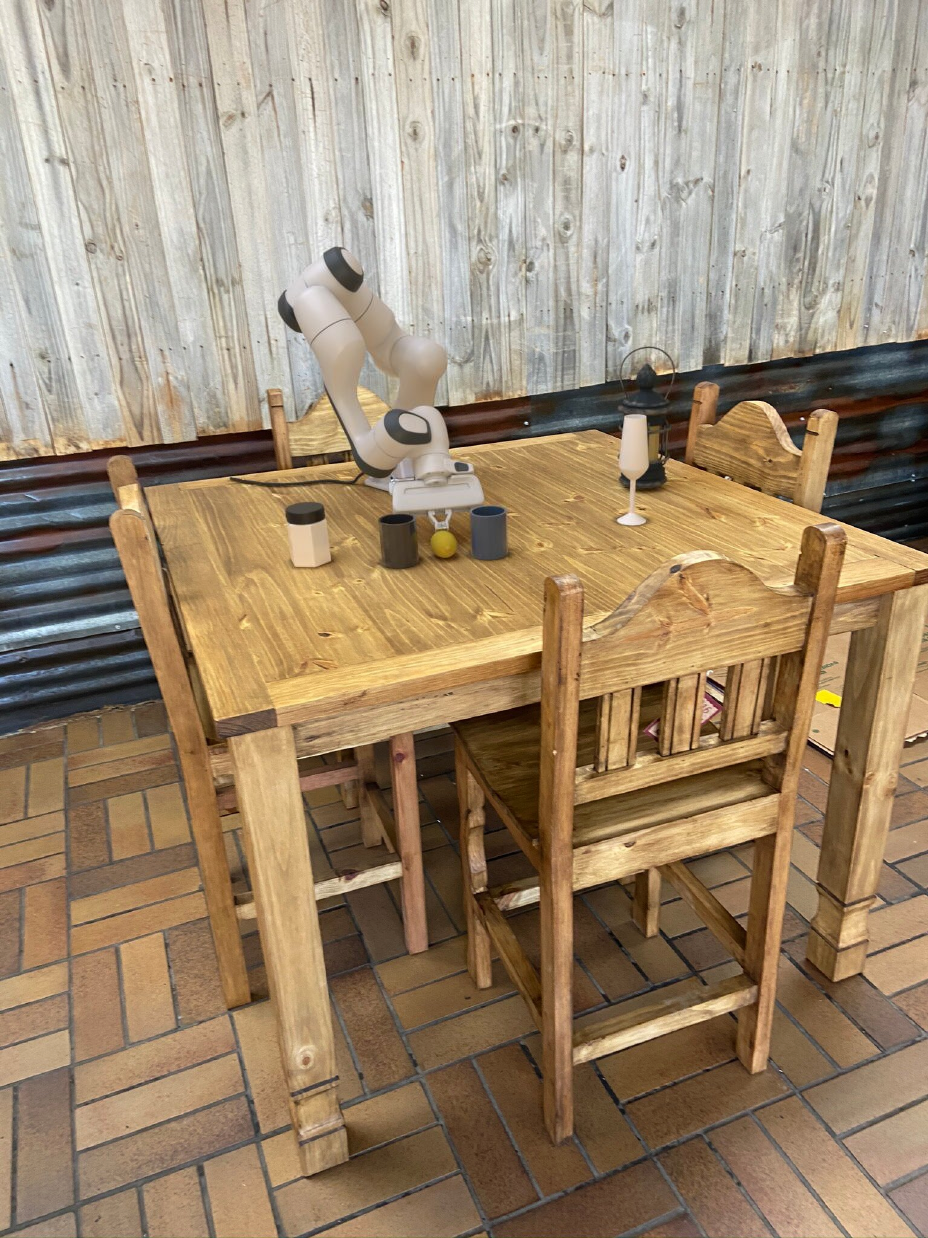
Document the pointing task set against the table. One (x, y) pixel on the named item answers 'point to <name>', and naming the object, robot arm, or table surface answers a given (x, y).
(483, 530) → the slate cup
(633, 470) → the champagne flute
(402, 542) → the charcoal cup
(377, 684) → the table surface
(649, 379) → the lantern
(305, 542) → the jar
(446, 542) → the lemon
